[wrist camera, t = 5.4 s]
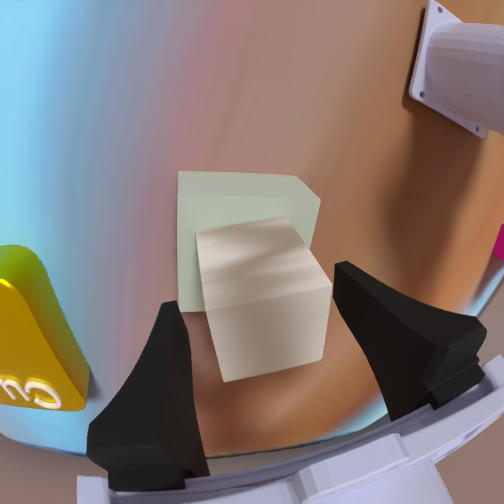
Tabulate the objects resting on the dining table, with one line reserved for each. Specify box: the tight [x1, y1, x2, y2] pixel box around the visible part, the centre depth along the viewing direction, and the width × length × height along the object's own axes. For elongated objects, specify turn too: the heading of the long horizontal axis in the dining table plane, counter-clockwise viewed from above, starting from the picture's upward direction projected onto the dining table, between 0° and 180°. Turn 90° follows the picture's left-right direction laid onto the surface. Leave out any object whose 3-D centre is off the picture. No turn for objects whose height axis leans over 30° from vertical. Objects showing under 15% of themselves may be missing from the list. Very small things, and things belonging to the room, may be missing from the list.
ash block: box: [195, 216, 332, 382], centre depth 14 cm, size 4×4×6 cm
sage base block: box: [177, 171, 321, 312], centre depth 18 cm, size 7×7×4 cm
